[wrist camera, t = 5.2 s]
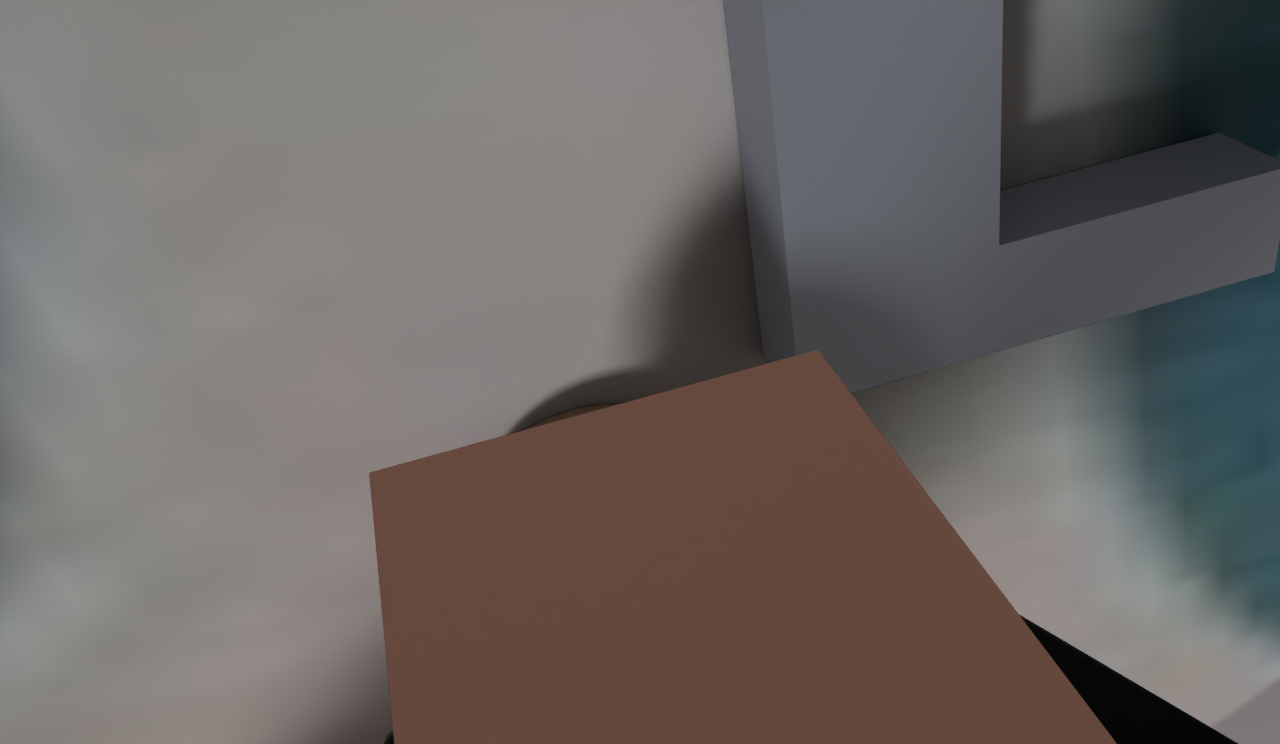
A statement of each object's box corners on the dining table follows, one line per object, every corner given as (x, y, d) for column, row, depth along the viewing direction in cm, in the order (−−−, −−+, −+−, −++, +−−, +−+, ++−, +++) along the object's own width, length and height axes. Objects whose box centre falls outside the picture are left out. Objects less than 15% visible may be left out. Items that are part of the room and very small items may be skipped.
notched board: (1206, 232, 24) (1274, 271, 23) (763, 356, 23) (800, 407, 21) (1273, -310, 19) (1369, -311, 17) (701, -192, 18) (744, -181, 16)
